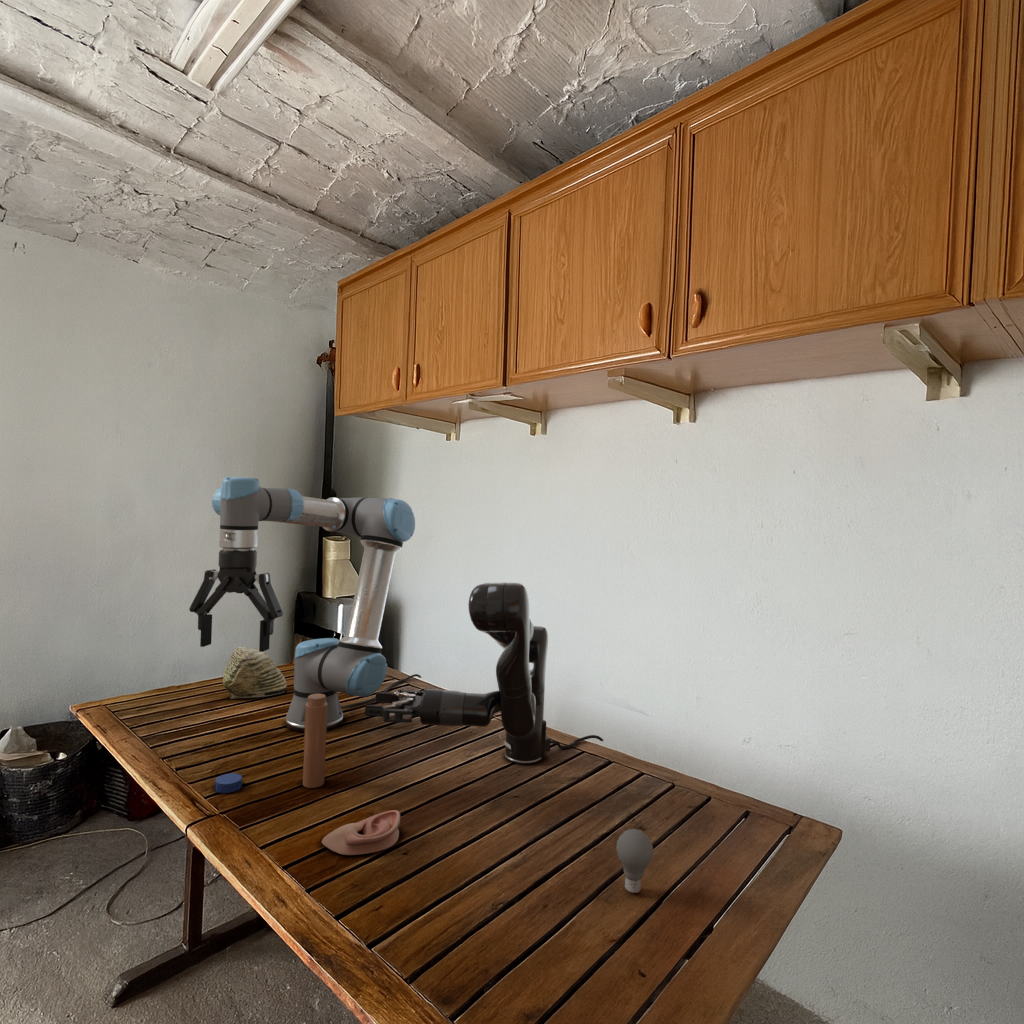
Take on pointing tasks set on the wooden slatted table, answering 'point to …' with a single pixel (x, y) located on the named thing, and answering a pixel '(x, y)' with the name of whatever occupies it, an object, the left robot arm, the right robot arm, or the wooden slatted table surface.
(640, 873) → the light bulb
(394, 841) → the anatomical model
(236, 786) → the lid
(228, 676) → the fossil
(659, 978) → the wooden slatted table surface
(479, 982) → the wooden slatted table surface
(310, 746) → the brown tube
